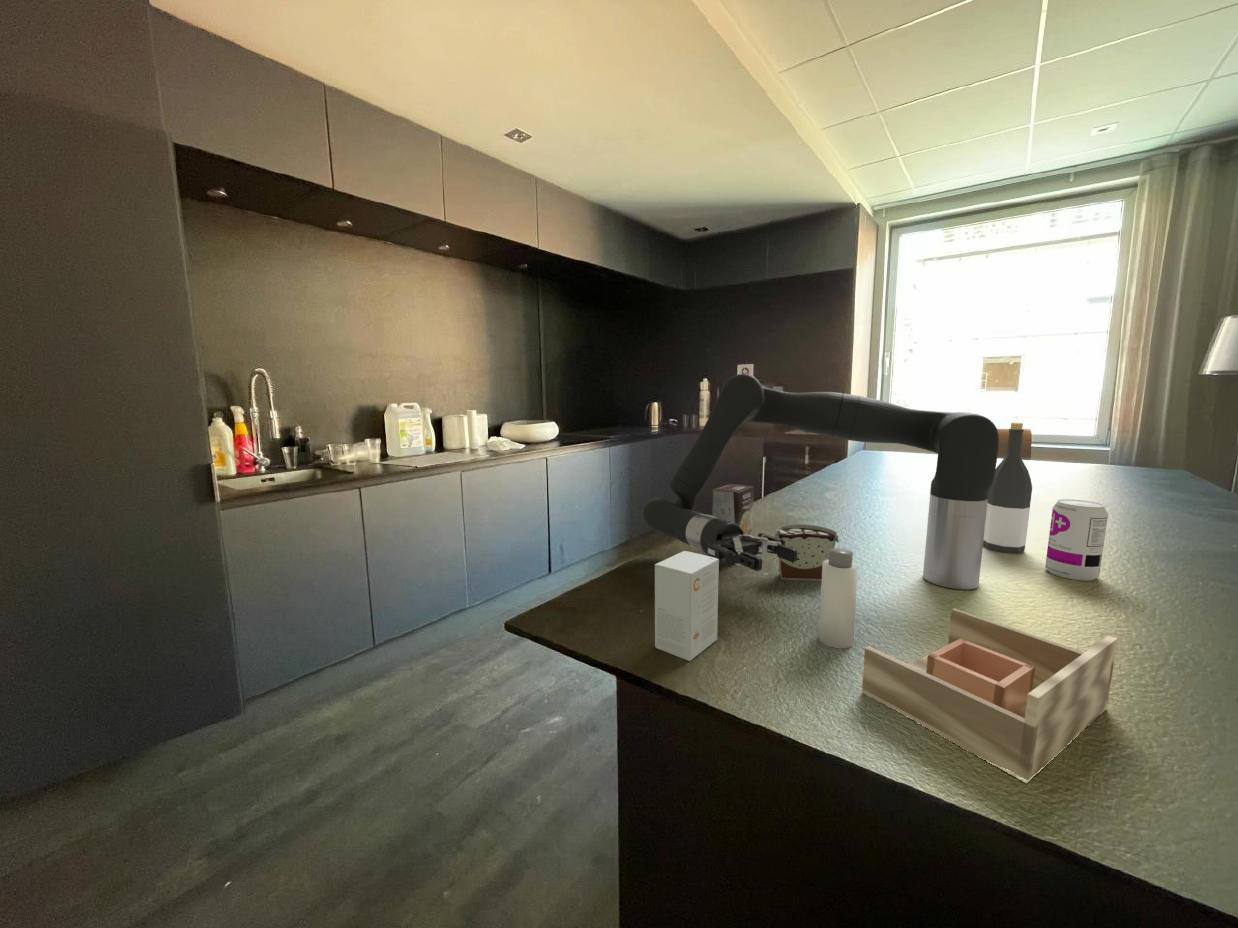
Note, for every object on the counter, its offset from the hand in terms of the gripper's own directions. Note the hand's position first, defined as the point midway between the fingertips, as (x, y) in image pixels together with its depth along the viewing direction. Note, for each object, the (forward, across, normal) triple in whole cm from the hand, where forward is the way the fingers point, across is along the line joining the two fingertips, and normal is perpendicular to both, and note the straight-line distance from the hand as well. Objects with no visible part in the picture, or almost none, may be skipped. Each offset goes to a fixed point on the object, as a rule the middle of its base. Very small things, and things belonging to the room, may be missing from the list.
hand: (778, 560), depth 83 cm
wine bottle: (+4, +73, +9) cm, 74 cm away
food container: (-10, +18, +9) cm, 23 cm away
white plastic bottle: (+11, 0, +9) cm, 15 cm away
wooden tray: (+29, +2, +9) cm, 31 cm away
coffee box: (-26, +14, +10) cm, 31 cm away
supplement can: (+19, +65, +9) cm, 69 cm away
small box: (0, -20, +10) cm, 22 cm away
